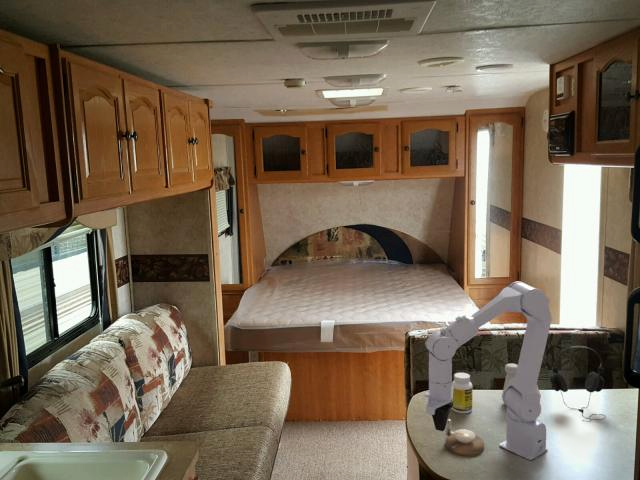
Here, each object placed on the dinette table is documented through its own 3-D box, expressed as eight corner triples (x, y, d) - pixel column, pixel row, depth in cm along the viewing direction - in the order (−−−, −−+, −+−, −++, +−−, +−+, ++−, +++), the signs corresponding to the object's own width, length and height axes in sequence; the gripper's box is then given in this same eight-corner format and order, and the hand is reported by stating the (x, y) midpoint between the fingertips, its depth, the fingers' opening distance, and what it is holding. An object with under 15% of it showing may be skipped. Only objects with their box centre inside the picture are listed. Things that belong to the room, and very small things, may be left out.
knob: (476, 433, 147) (476, 418, 147) (474, 444, 142) (474, 428, 142) (447, 429, 150) (447, 414, 150) (444, 439, 145) (444, 424, 145)
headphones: (558, 421, 158) (560, 355, 155) (546, 403, 169) (548, 342, 166) (613, 422, 156) (616, 355, 153) (597, 404, 167) (600, 342, 164)
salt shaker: (500, 400, 172) (500, 361, 170) (519, 400, 171) (519, 361, 170) (504, 408, 167) (504, 368, 165) (523, 409, 166) (524, 368, 164)
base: (491, 446, 145) (491, 439, 145) (467, 460, 139) (468, 452, 139) (461, 432, 153) (461, 425, 153) (437, 444, 147) (437, 437, 147)
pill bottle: (467, 416, 163) (467, 381, 161) (448, 411, 167) (448, 376, 165) (475, 408, 168) (475, 374, 166) (456, 403, 171) (456, 369, 170)
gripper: (435, 367, 147) (435, 414, 149) (414, 386, 135) (414, 437, 137) (461, 372, 143) (461, 420, 145) (441, 392, 131) (441, 445, 133)
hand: (440, 429), depth 141 cm, fingers closed
